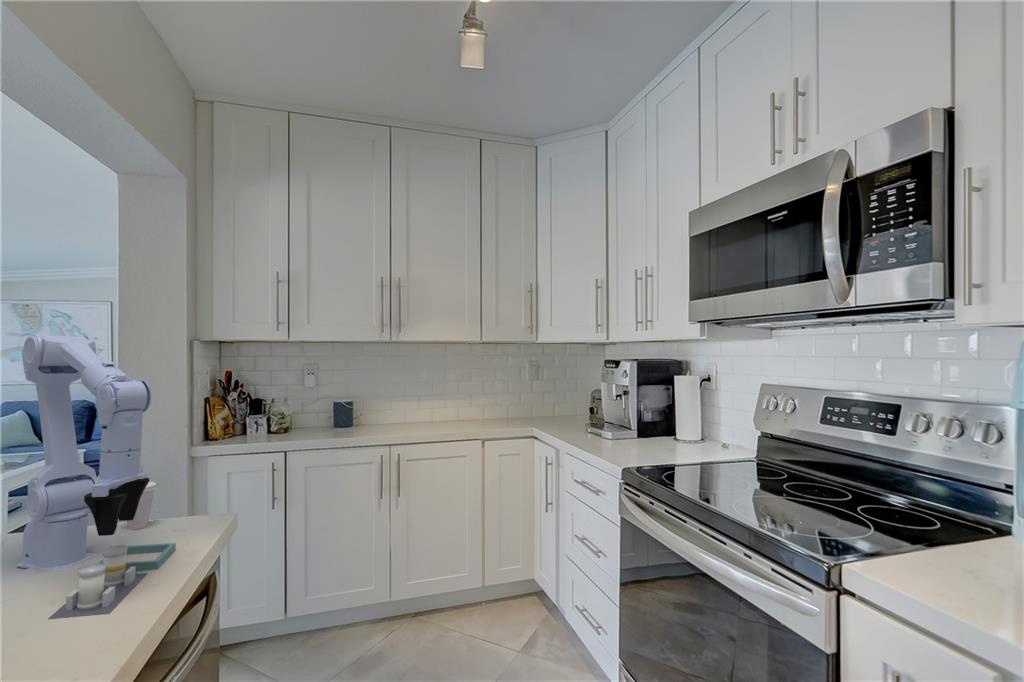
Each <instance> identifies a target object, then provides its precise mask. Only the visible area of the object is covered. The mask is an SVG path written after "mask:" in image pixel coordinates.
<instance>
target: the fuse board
mask: <svg viewBox="0 0 1024 682" xmlns="http://www.w3.org/2000/svg"><path fill="white" fill-rule="evenodd" d="M136 572H137V571H136V567H130V568H129V569H128V570H127V571H126V572H125V577H124V584H122V585H119V586H116V587H109V588H104V593H103V594H102V605H101V606H100V607H97V608H95V609H91V610H85V611H81V610H77V602H78V589H79V588H77V589H74V590H72V591H71V592H70V593H69V594H67V595H66V596H65V603H64V604H63V605H62V606H61V607H60V608H58V609H57V611H54V613H53V614H51V615H50V616H49V617H48V618H47V620H55V619H65V618H66V619H68V618H76V617H77V618H78V617H88V616H89V617H90V616H100V615H110V614H111V613H112V612H113V611H114V610H115V609H116V608H117V607H118V606H119V605H120V604H121V602H122V601H124V599H125V598H126V597H127V596H128V595H129V594H131V592H132V591H133V590H134V589H135V587H137V586H138V585H139V584H140V583H141V581H142V580H143V579H144V578H145V577H146V576H147V575H148V574H149V573H148V572H143V573H136Z"/></svg>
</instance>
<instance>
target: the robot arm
mask: <svg viewBox="0 0 1024 682" xmlns="http://www.w3.org/2000/svg"><path fill="white" fill-rule="evenodd" d="M24 341H25V342H24V344H23V347H22V351H21V353H22V354H21V356H22V365H23V373H24V376H25V380H27V381H28V382H31V383H34V384H35V389H36V393H37V401H38V402H37V403H38V411H39V412H38V413H39V419H40V429H41V437H42V438H41V439H42V447H43V455H44V464H45V467H44V468H43V469H42V470H41V471H39V472H38V473H36V475H34V476H33V477H32V478H30V480H29V481H28V483H27V496H26V510H27V513H28V515H29V516H30V517H31V519H30V520H29V521H28V522H27V524H26V526H25V528H24V530H23V533H22V534H23V536H22V555H21V562H19V563H17V564H16V567H17V568H22V569H30V568H36V569H42V570H49V571H59V570H63V569H65V568H67V567H69V566H70V567H71V566H72V565H75V564H78V563H81V562H83V561H85V560H88V559H90V558H93V557H96V556H98V553H92V552H87V539H88V523H89V521H88V520H89V519H88V518H89V514H92V517H93V521H94V524H95V528H96V532H97V535H98V537H100V536H101V537H102V536H104V537H105V536H113V535H115V533H116V530H117V527H118V522H122V521H123V522H125V521H126V522H127V521H129V520H133V519H134V517H135V514H136V511H137V507H138V504H139V501H140V498H141V496H142V493H143V491H144V489H145V488H146V486H147V484H148V483H149V482H150V478H149V477H148V472H143V471H144V466H143V464H142V465H141V457H142V456H141V455H142V454H141V453H142V434H143V417H144V415H143V414H144V412H146V411H148V409H149V408H150V406H151V402H152V392H151V391H152V390H151V387H150V385H149V384H148V382H147V381H146V380H145V379H137V380H136V379H133V380H132V379H131V377H129V376H128V375H127V374H126V373H125V372H124V371H122V370H121V369H120V368H119V367H118V366H117V365H116V363H115V362H114V361H112V360H102V359H100V357H99V356H98V355H97V346H96V343H95V340H94V339H92V337H91V336H89V335H82V336H73V335H50V334H49V335H48V334H47V335H46V334H45V335H43V334H37V333H32V334H30V335H29V336H28V337H27V338H26V339H25V340H24ZM79 380H80V381H81V383H82V385H83V386H84V387H85V388H86V389H87V390H88V391H89V392H90V393H91V394H93V396H94V397H95V406H96V409H97V415H98V416H97V418H98V419H97V420H98V424H99V425H101V434H100V436H101V437H100V452H99V453H100V454H99V455H100V456H99V471H98V476H97V474H96V469H95V468H93V467H91V466H89V465H86V464H85V463H83V462H81V461H80V459H79V452H78V444H77V443H78V442H77V435H76V427H75V420H74V411H73V405H72V396H71V389H70V387H71V384H72V383H73V382H75V381H79Z"/></svg>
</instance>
